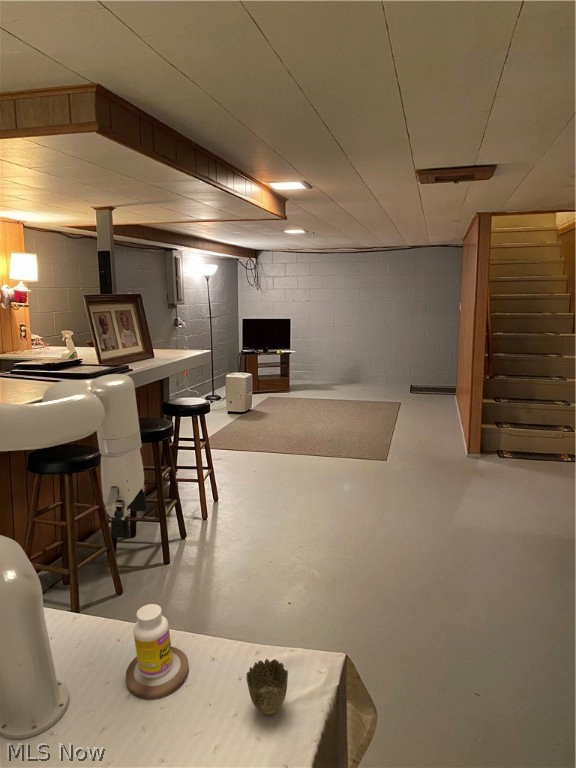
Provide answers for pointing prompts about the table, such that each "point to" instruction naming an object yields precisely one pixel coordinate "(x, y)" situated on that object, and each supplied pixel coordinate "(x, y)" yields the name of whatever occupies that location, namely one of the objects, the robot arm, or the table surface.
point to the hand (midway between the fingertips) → (130, 523)
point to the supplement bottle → (152, 642)
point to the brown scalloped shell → (267, 685)
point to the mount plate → (158, 678)
